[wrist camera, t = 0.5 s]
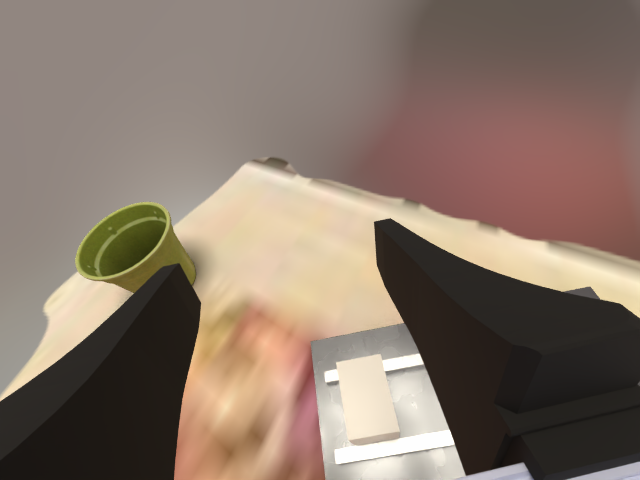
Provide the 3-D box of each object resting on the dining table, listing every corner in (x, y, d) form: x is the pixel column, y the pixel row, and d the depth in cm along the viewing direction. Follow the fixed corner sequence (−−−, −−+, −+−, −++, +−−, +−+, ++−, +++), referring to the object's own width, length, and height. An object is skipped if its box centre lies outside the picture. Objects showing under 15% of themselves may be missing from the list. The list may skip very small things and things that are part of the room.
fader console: (709, 464, 19) (745, 462, 17) (333, 522, 21) (327, 527, 19) (581, 294, 26) (596, 280, 25) (313, 347, 28) (308, 337, 26)
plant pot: (224, 255, 37) (187, 206, 30) (181, 328, 32) (125, 288, 25) (166, 244, 40) (121, 197, 34) (118, 308, 35) (54, 268, 28)
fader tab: (398, 439, 21) (399, 431, 17) (356, 446, 21) (348, 440, 17) (382, 374, 24) (380, 353, 20) (345, 380, 24) (335, 362, 20)
